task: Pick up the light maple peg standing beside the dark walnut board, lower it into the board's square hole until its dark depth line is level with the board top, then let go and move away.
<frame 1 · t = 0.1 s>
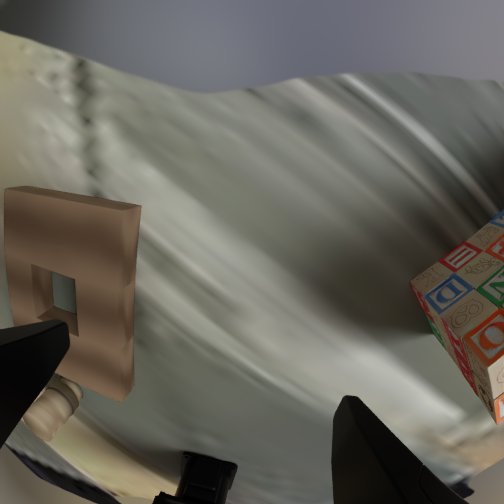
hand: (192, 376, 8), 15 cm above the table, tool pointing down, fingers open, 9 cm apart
board: (72, 288, 25), on the table
peg: (71, 388, 29), on the table
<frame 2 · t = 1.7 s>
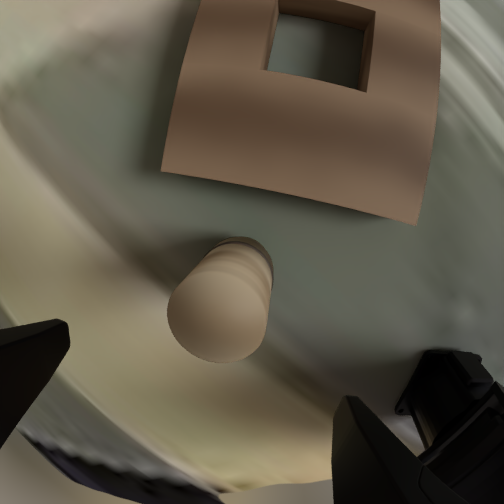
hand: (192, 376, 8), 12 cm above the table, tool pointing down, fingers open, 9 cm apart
board: (316, 54, 16), on the table
peg: (242, 263, 19), on the table
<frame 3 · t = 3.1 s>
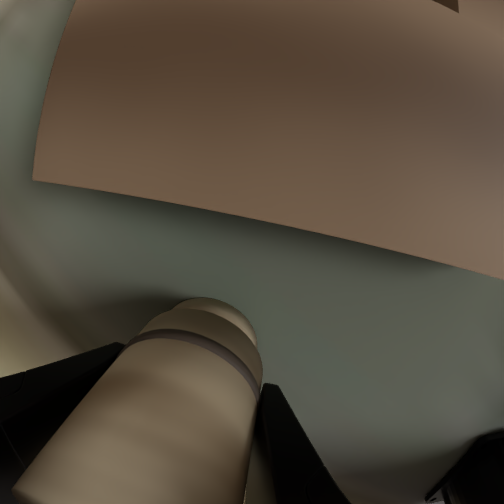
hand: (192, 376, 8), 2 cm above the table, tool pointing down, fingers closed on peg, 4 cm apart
peg: (208, 342, 10), on the table, touching gripper
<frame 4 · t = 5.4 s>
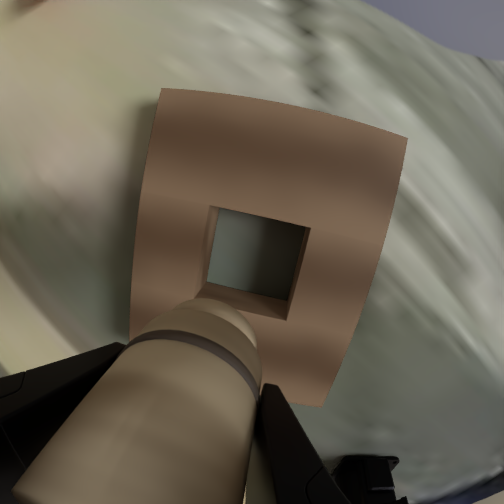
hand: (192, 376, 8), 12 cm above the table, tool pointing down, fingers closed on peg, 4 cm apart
board: (254, 252, 20), on the table
peg: (208, 342, 10), point 10 cm above the table, touching gripper
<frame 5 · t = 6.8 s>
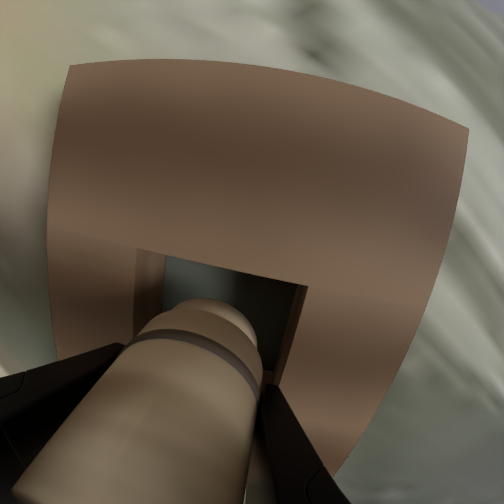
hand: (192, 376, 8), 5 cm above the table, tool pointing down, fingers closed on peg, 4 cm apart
board: (223, 306, 13), on the table
peg: (208, 342, 10), point 3 cm above the table, touching gripper
when the fingers open (3 cm above the table, at t = 7.9 s): peg drops 1 cm, resting in board.
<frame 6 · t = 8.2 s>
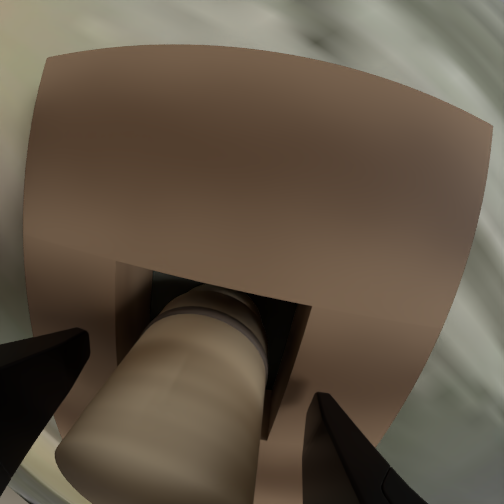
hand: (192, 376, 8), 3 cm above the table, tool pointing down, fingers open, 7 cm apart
board: (216, 322, 12), on the table
peg: (218, 323, 12), resting in board
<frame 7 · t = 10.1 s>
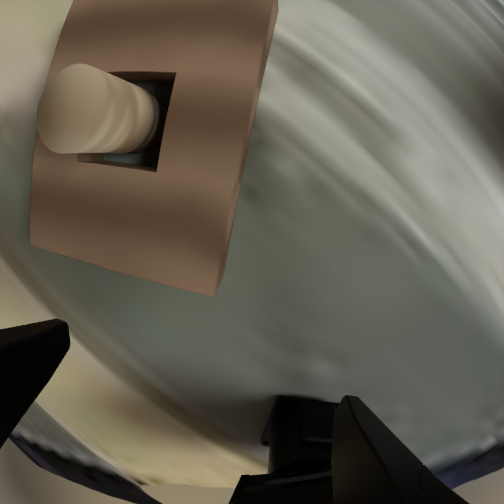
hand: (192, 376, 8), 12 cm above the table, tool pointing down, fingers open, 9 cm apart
board: (143, 122, 17), on the table
peg: (144, 123, 18), resting in board
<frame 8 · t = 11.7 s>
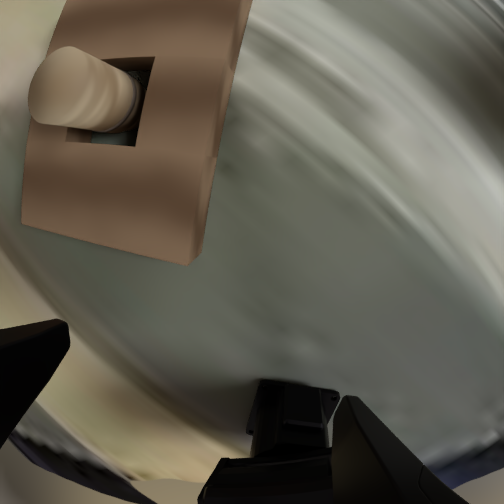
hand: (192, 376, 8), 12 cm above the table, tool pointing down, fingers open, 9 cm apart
board: (128, 107, 18), on the table
peg: (129, 107, 18), resting in board
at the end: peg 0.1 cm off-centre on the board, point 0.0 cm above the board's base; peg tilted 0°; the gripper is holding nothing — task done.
